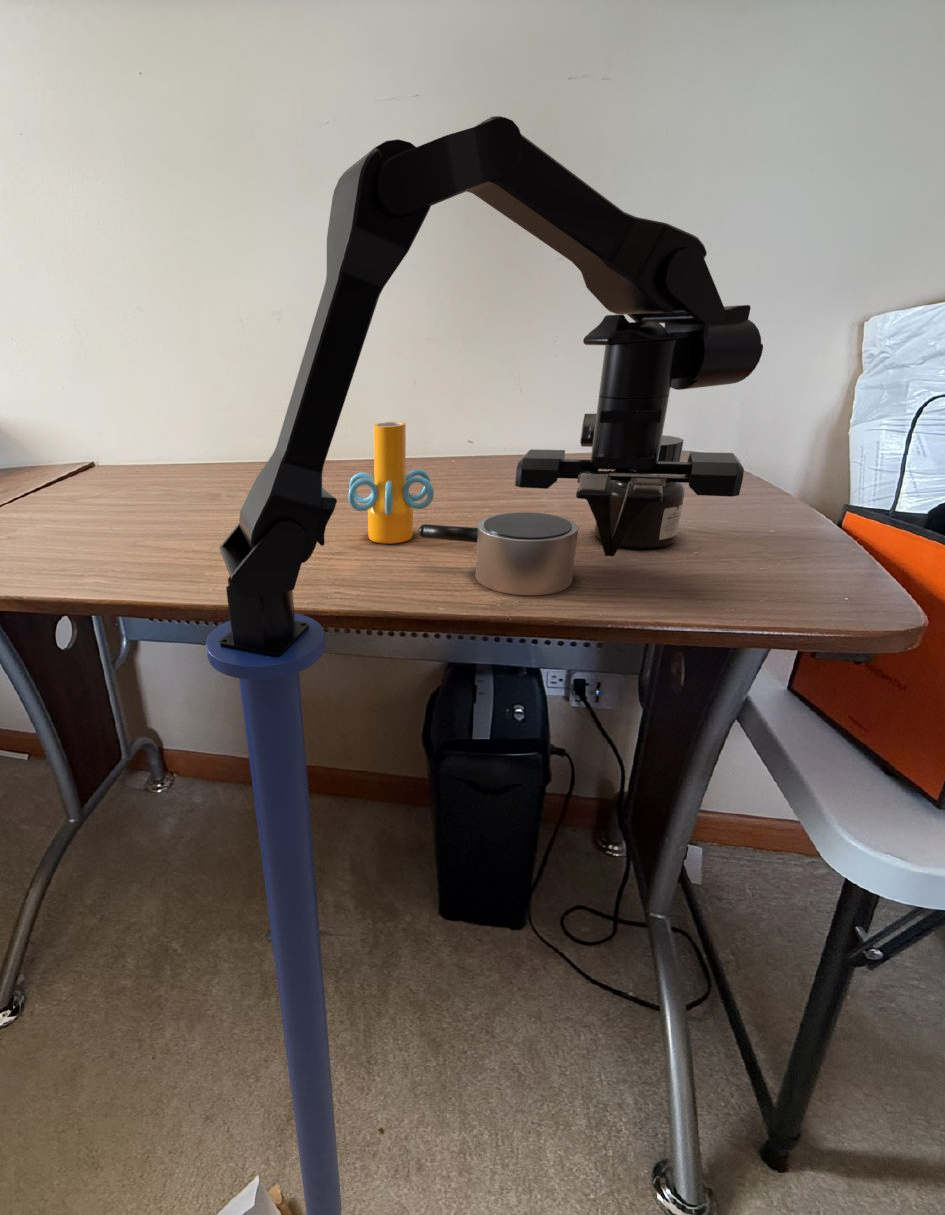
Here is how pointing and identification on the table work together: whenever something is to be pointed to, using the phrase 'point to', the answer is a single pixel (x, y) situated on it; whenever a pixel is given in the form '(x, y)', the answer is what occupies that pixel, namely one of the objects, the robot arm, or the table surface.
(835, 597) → the table surface
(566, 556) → the pot
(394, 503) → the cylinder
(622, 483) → the ink bottle
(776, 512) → the table surface
